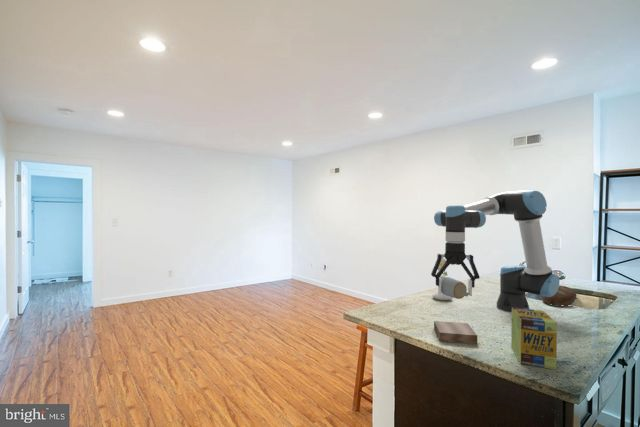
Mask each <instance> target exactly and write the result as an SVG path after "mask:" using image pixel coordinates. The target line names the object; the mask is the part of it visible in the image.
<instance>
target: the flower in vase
mask: <svg viewBox="0 0 640 427" xmlns="http://www.w3.org/2000/svg"><path fill="white" fill-rule="evenodd" d="M445 262H446V258H443V259H441V262H440V265H439V267H438V269H437V271H439V270H440V269H441V267H442V266H443V265H444V263H445ZM446 277H448V272H447V271H444V272H443V274H442V275H441V276H440V278H441V282H442V280H443V279H444V278H446ZM432 298H434V299H436V300H439V301H440V300H441V301H450V300H452V299H454V298H453V297H450V296H447V295H444V294H443V293H442V292H441V294H439V293H438V289H437V290H436V291H435V292H433V293H432Z"/></svg>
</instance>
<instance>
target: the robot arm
mask: <svg viewBox="0 0 640 427" xmlns="http://www.w3.org/2000/svg"><path fill="white" fill-rule="evenodd" d="M547 204H548V203H547V200H546V198H545V196H544V194H543V193H541V192H540V191H539V190H516V191H503V192H500V193H496V194H494V195H493V194H492V195H490V196H486V197H485V198H483V200H479V201H476V202H472V203H469V204H465V205H462V204H461V205H459V204H457V205H456V204H455V205H447V206H446V207H445V210H444V209H441V210H437V211H436V212H435V213H434V216H433V219H434V224H436V225H437V226H438V227H445V249H444V250H445V251H444V254H443V253H441V254H440V253H437V255H436V260H435V263H434V266H433V268H432V269H431V270H432V271H431V273H430V275H431V277H433V278H435V286H437V290H438V293H439V294H441V278H440V276H443V273H444V272H446V269H447V268H448V267H449V266H450V265H451V266H452V265H453V266H455V265H457V266H460V265H461V267H462V268H463V270H464V271H465V273H466V274H467V275H468V277H469V278H468V280H467V286H468V287H467V293H469V294H468V297H472V296H473V289H474V288H475V283H476V282H475V281H476V280H478V279H480V274H479V272H478V270H477V267H476V264H475V261H474V255H472V254H466V244H465V241H466V229H467V228H469V229H470V228H471V229H473V228H474V229H477V228H481V227H483V226H484V225H485V224H486V223H487V222H486V221H487V218H486V217H487V216H494V215H513V218H514V221H516V222H517V223H518V224H519V226H518V227H519V232H520V238H521V242H522V248H523V253H524V254H523V255H524V259H525V264H526V266H523V265H505V266H502V267H501V268H500V271H499V272H500V274H499V275H500V276H499V277H500V279H499V280H500V282H499V284H500V285H499V286H500V290H499V291H500V293H499V295H498V298H497V301H496V308H498V309H500V310H502V311H506V312H510V313H512V307H515V308H524V309H530V305H529V302H528V300H527V297H526V293H527V294H533V295H537V296H540V297H541V296H545V297H552V296H553V295H555V294H556V292H557V290H558V288H559V286H560V277H559V275H557V273H553V270H552V267H550V266H549V265H548V262H547V257H546V251H545V245H544V238H543V234H542V233H543V232H542V228H541V222H540V220H541V219H542V218H543V215H544V214H545V212H546V211H547ZM441 259H445V260H446V262H445V263H444V265H443V266H442V267H441V269H440V270H438V267H439V265H440V262H441ZM465 259H467V261H468V262H469V265H470V268H471V270H472V272H471V270H470V269H469V268H468V266H467V265H466V263H465V262H464V261H465Z"/></svg>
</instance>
